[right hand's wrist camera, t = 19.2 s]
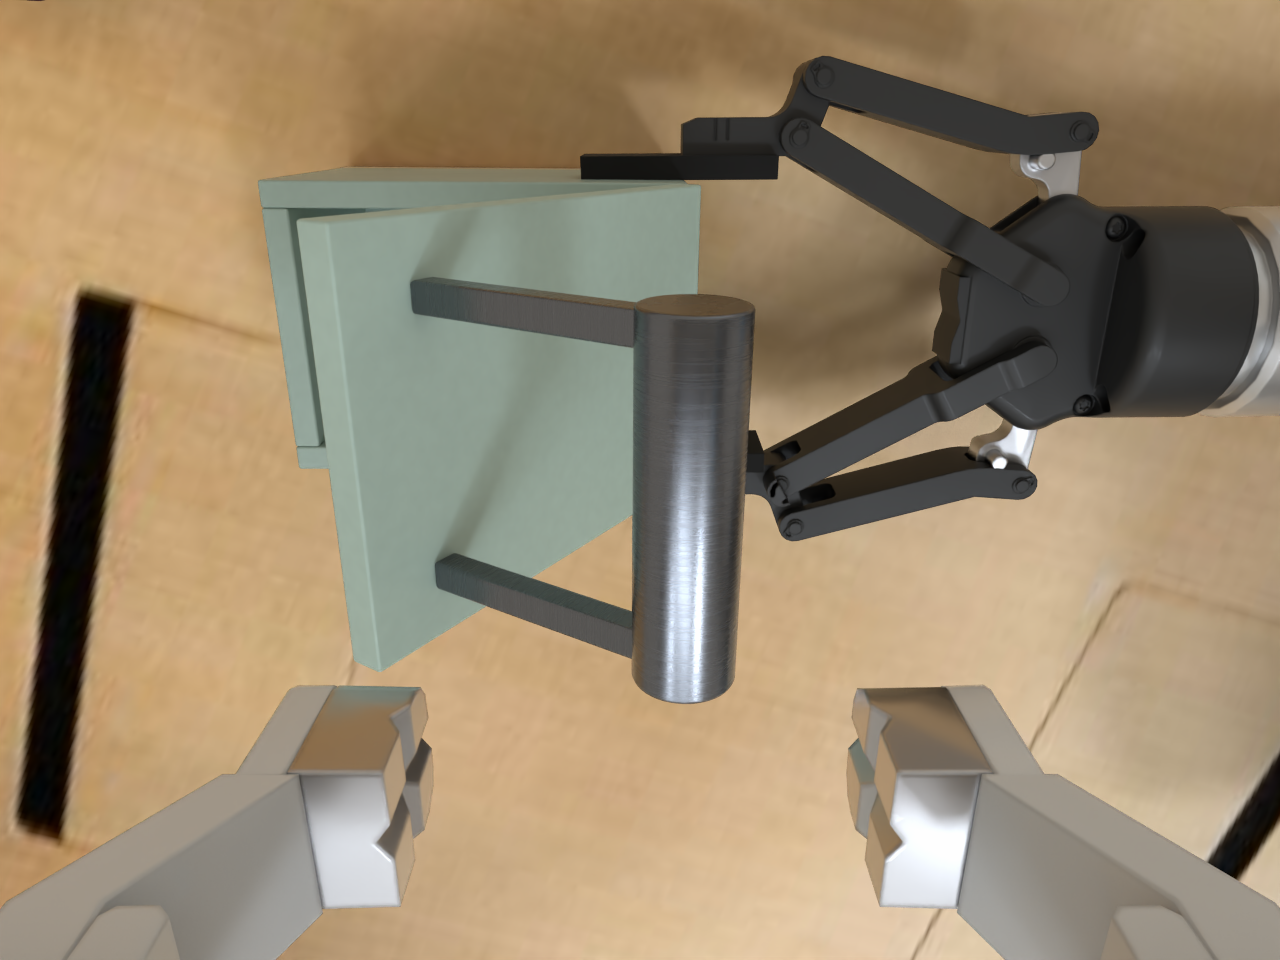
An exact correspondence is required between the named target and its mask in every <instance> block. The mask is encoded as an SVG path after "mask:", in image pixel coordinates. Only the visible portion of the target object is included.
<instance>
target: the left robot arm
mask: <svg viewBox="0 0 1280 960" xmlns="http://www.w3.org/2000/svg"><path fill="white" fill-rule="evenodd" d="M829 106H832V107H835V108H839V109H842V110H845V111H849V112H852V113H855V114H859V115H862V116H866V117H869V118H872V119H876V120H879V121H882V122H886V123H889V124H893V125H896V126H899V127H903V128H906V129H909V130H913V131H916V132H920V133H923V134H926V135H930V136H933V137H937V138H940V139H943V140H947V141H950V142H953V143H957V144H960V145H964V146H967V147H970V148H974V149H978V150H982V151H986V152H995V153H1006V154H1010V167H1011V170H1012V171H1013V172H1014V173H1015V174H1016V175H1018V176H1021V177H1026V178H1029V179H1031V180H1033V182H1034V183H1035V184H1036V186H1037V189H1038V196H1036V197H1035V198H1033V199H1031V200H1030V201H1029V202H1027V203H1026V204H1024V205H1023V206H1021V207H1020V208H1018V209H1017V210H1015V211H1014V212H1013V213H1011V214H1010V215H1008V216H1007V217H1005V218H1004V219H1002V220H1001V221H999V222H998V223H997V224H995V225H994V226H992V227H991V228H988V227H986V226H985V225H983V224H981V223H980V222H978V221H976V220H974V219H972V218H970V217H968V216H966V215H964V214H962V213H961V212H959V211H957V210H956V209H954V208H953V207H951V206H949V205H948V204H946V203H944V202H943V201H941V200H939V199H938V198H936V197H935V196H933V195H931V194H930V193H928V192H926V191H925V190H923V189H922V188H920V187H918V186H917V185H915V184H913V183H912V182H910V181H909V180H907V179H905V178H904V177H902V176H900V175H899V174H897V173H895V172H894V171H892V170H891V169H889V168H887V167H886V166H884V165H882V164H881V163H879V162H878V161H876V160H874V159H873V158H871V157H869V156H868V155H866V154H864V153H863V152H861V151H860V150H858V149H856V148H855V147H853V146H851V145H850V144H848V143H847V142H845V141H843V140H842V139H840V138H838V137H837V136H835V135H833V134H832V133H830V132H829V131H827V130H825V129H824V128H822V127H821V124H822V122H823V119H824V117H825V114H826V112H827V109H828V107H829ZM1098 132H1099V125H1098V121H1097V119H1096V118H1095V116H1093V115H1092V114H1090V113H1087V112H1062V113H1043V114H1033V115H1022V114H1019V113H1016V112H1012V111H1009V110H1006V109H1002V108H999V107H996V106H992V105H989V104H986V103H983V102H979V101H976V100H973V99H969V98H966V97H963V96H959V95H956V94H953V93H949V92H946V91H943V90H939V89H936V88H933V87H930V86H926V85H923V84H920V83H916V82H913V81H910V80H906V79H903V78H900V77H896V76H893V75H890V74H886V73H883V72H880V71H877V70H873V69H870V68H867V67H863V66H860V65H857V64H853V63H850V62H847V61H843V60H840V59H837V58H833V57H830V56H821V57H818V58H815V59H812V60H809V61H807V62H805V63H802V64H801V65H800V66H799V67H798V68H797V69H796V71H795V73H794V76H793V83H792V86H791V89H790V91H789V94H788V96H787V99H786V101H785V103H784V105H783V107H782V108H781V109H780V110H779V111H778V112H777V113H776V114H774V115H772V116H770V117H732V118H694V119H692V120H690V121H688V122H685V123H683V124H681V153H655V154H584V155H582V156H580V164H581V179H585V180H759V179H778V161H779V156H786V157H788V158H789V159H791V160H793V161H794V162H796V163H798V164H799V165H801V166H803V167H804V168H806V169H808V170H809V171H811V172H813V173H814V174H816V175H818V176H819V177H821V178H823V179H824V180H826V181H828V182H829V183H831V184H833V185H834V186H836V187H838V188H839V189H841V190H843V191H844V192H846V193H848V194H849V195H851V196H853V197H854V198H856V199H858V200H859V201H861V202H863V203H864V204H866V205H868V206H869V207H871V208H873V209H874V210H876V211H878V212H879V213H881V214H883V215H884V216H886V217H888V218H889V219H891V220H893V221H894V222H896V223H898V224H899V225H901V226H903V227H904V228H906V229H908V230H909V231H911V232H913V233H914V234H916V235H918V236H919V237H921V238H922V239H923V240H925V241H926V242H928V243H930V244H931V245H933V246H935V247H936V248H938V249H940V250H941V251H943V252H945V253H946V254H948V255H950V256H951V257H953V258H952V259H951V261H950V263H949V265H948V267H947V268H942V270H941V279H940V288H939V290H940V297H941V304H942V313H941V315H940V318H939V320H938V323H937V326H936V328H935V331H934V339H933V347H932V351H933V352H934V353H936V354H937V356H936V357H934V358H932V359H930V360H928V361H926V362H924V363H922V364H920V365H918V366H916V367H915V368H913V369H912V370H911V371H910V372H909V373H908V375H907V376H906V377H905V378H903V379H901V380H899V381H897V382H895V383H893V384H892V385H890V386H888V387H886V388H884V389H882V390H880V391H878V392H876V393H874V394H872V395H870V396H868V397H866V398H864V399H862V400H861V401H859V402H857V403H855V404H853V405H851V406H849V407H847V408H845V409H843V410H841V411H839V412H837V413H835V414H833V415H832V416H830V417H828V418H826V419H824V420H822V421H820V422H818V423H816V424H814V425H812V426H810V427H808V428H806V429H804V430H802V431H801V432H799V433H797V434H795V435H793V436H791V437H789V438H787V439H785V440H783V441H781V442H779V443H777V444H775V445H773V446H772V447H770V448H768V449H766V450H764V451H763V448H762V446H761V443H760V441H759V438H758V435H757V433H756V430H749V431H748V449H747V467H746V485H745V494H756V495H759V496H762V497H764V498H765V499H766V500H767V501H768V502H769V504H770V506H771V508H772V511H773V514H774V517H775V520H776V523H777V526H778V528H779V531H780V533H781V535H782V536H783V537H784V538H785V539H786V540H790V541H799V540H803V539H807V538H811V537H815V536H819V535H823V534H827V533H831V532H835V531H839V530H843V529H847V528H851V527H855V526H859V525H863V524H867V523H871V522H875V521H879V520H883V519H887V518H891V517H895V516H899V515H903V514H907V513H911V512H915V511H919V510H923V509H927V508H931V507H935V506H939V505H943V504H947V503H951V502H955V501H959V500H963V499H967V498H971V497H987V498H1001V499H1015V500H1019V499H1025V498H1027V497H1029V496H1031V495H1032V494H1033V493H1034V492H1035V489H1036V487H1037V479H1036V476H1035V475H1034V474H1033V473H1032V472H1031V471H1030V470H1028V465H1029V461H1030V458H1031V454H1032V450H1033V446H1034V442H1035V438H1036V434H1037V430H1038V429H1041V428H1044V427H1047V426H1048V425H1050V424H1052V423H1054V422H1057V421H1059V420H1062V419H1065V418H1069V417H1185V416H1190V415H1193V414H1196V413H1198V414H1200V415H1203V416H1210V417H1244V416H1280V206H1236V207H1227V208H1224V209H1222V210H1217V209H1215V208H1212V207H1208V206H1159V207H1098V206H1096V205H1093V204H1091V203H1090V202H1088V201H1087V200H1085V199H1084V198H1082V197H1080V196H1078V187H1079V176H1080V165H1081V154H1082V150H1085V149H1087V148H1088V147H1089V146H1091V145H1092V144H1093V143H1094V141H1095V140H1096V138H1097V135H1098ZM984 404H985V405H986V406H988V407H989V408H990V409H992V410H993V411H994V412H996V413H997V414H998V415H1000V416H1001V417H1002V418H1004V419H1003V422H1002V424H1001V426H1000V427H999V428H998V429H997V430H996V431H994V432H992V433H989V434H984V435H980V436H976V437H974V438H973V439H972V440H971V442H970V443H971V444H970V447H950V448H944V449H939V450H935V451H931V452H927V453H923V454H919V455H916V456H912V457H908V458H904V459H900V460H896V461H892V462H888V463H884V464H880V465H876V466H873V467H869V468H865V469H861V470H857V471H853V472H849V473H845V474H841V475H837V476H834V477H830V478H826V477H828V476H830V475H832V474H834V473H836V472H838V471H840V470H842V469H844V468H846V467H848V466H850V465H852V464H854V463H856V462H858V461H860V460H862V459H864V458H866V457H868V456H870V455H872V454H874V453H876V452H878V451H880V450H882V449H884V448H886V447H888V446H890V445H892V444H894V443H896V442H898V441H900V440H902V439H904V438H906V437H908V436H910V435H912V434H914V433H916V432H918V431H920V430H922V429H924V428H926V427H928V426H930V425H932V424H934V423H936V422H943V421H951V420H954V419H956V418H959V417H961V416H963V415H965V414H967V413H969V412H971V411H973V410H975V409H977V408H978V407H980V406H982V405H984ZM824 478H826V479H824Z"/></svg>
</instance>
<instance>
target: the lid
mask: <svg viewBox="0 0 1280 960" xmlns="http://www.w3.org/2000/svg"><path fill="white" fill-rule="evenodd" d="M700 199H701V186H700V185H694V184H669V185H659V186H648V187H637V188H626V189H615V190H605V191H594V192H583V193H572V194H561V195H551V196H540V197H529V198H518V199H507V200H497V201H486V202H475V203H464V204H453V205H443V206H432V207H421V208H410V209H399V210H389V211H378V212H367V213H356V214H345V215H335V216H324V217H313V218H302V219H299V220H297V230H298V238H299V246H300V253H301V261H302V268H303V276H304V284H305V291H306V299H307V307H308V314H309V322H310V329H311V337H312V345H313V352H314V360H315V367H316V375H317V383H318V390H319V398H320V406H321V413H322V421H323V428H324V436H325V444H326V451H327V459H328V467H329V474H330V482H331V489H332V497H333V505H334V512H335V520H336V527H337V535H338V543H339V550H340V558H341V566H342V573H343V581H344V588H345V596H346V604H347V611H348V619H349V627H350V634H351V642H352V649H353V657H354V660H355V662H358V663H360V664H362V665H364V666H367V667H369V668H371V669H373V670H375V671H378V672H382V671H383V670H385V669H387V668H388V667H390V666H391V665H393V664H395V663H396V662H398V661H399V660H401V659H403V658H404V657H406V656H407V655H409V654H411V653H412V652H414V651H415V650H417V649H419V648H420V647H422V646H423V645H425V644H427V643H428V642H430V641H431V640H433V639H435V638H436V637H438V636H439V635H441V634H443V633H444V632H446V631H447V630H449V629H451V628H452V627H454V626H455V625H457V624H459V623H460V622H462V621H463V620H465V619H467V618H468V617H470V616H471V615H473V614H475V613H476V612H478V611H479V610H481V609H483V608H484V607H486V606H488V607H490V608H493V609H496V610H499V611H501V612H504V613H507V614H510V615H512V616H515V617H518V618H521V619H523V620H526V621H529V622H532V623H534V624H537V625H540V626H543V627H545V628H548V629H551V630H554V631H556V632H559V633H562V634H565V635H567V636H570V637H573V638H576V639H578V640H581V641H584V642H587V643H589V644H592V645H595V646H598V647H600V648H603V649H606V650H609V651H611V652H614V653H617V654H620V655H622V656H625V657H628V658H631V659H632V676H633V679H634V681H635V683H636V684H637V686H638V687H639V688H640V689H641V690H642V691H644V692H645V693H646V694H648V695H650V696H652V697H654V698H656V699H659V700H662V701H666V702H671V703H678V704H694V703H701V702H706V701H709V700H712V699H715V698H717V697H719V696H721V695H722V694H724V693H725V692H726V691H727V690H728V689H729V688H730V687H731V685H732V683H733V681H734V678H735V664H736V646H737V628H738V610H739V592H740V574H741V556H742V538H743V520H744V503H745V485H746V467H747V449H748V431H749V413H750V395H751V377H752V359H753V341H754V323H755V308H754V306H753V304H751V303H749V302H747V301H744V300H741V299H737V298H732V297H726V296H718V295H704V294H698V263H699V231H700ZM631 515H633V519H632V611H629V610H626V609H623V608H620V607H617V606H614V605H611V604H608V603H605V602H602V601H599V600H596V599H593V598H590V597H587V596H584V595H581V594H578V593H575V592H572V591H569V590H566V589H563V588H560V587H557V586H554V585H551V584H548V583H545V582H542V581H538V580H535V579H532V577H534V576H535V575H537V574H539V573H540V572H542V571H543V570H545V569H547V568H548V567H550V566H551V565H553V564H555V563H556V562H558V561H559V560H561V559H562V558H564V557H566V556H567V555H569V554H570V553H572V552H574V551H575V550H577V549H578V548H580V547H582V546H583V545H585V544H586V543H588V542H590V541H591V540H593V539H594V538H596V537H598V536H599V535H601V534H602V533H604V532H606V531H607V530H609V529H610V528H612V527H614V526H615V525H617V524H618V523H620V522H622V521H623V520H625V519H626V518H628V517H630V516H631Z"/></svg>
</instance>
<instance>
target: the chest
mask: <svg viewBox="0 0 1280 960" xmlns="http://www.w3.org/2000/svg"><path fill="white" fill-rule="evenodd" d="M669 184H687V183H686V182H685V181H684V180H585V179H581V168H455V167H341V168H338V169H331V170H324V171H317V172H311V173H304V174H297V175H290V176H283V177H276V178H270V179H263V180H259V181H258V186H259V193H260V200H261V206H262V207H263V209H262V213H263V220H264V227H265V234H266V241H267V248H268V255H269V261H270V268H271V275H272V282H273V289H274V296H275V303H276V310H277V317H278V324H279V331H280V338H281V345H282V351H283V358H284V365H285V372H286V379H287V386H288V393H289V400H290V407H291V414H292V421H293V428H294V435H295V442H296V445H297V455H298V462H299V467H300V468H301V469H329V467H328V459H327V451H326V444H325V436H324V428H323V421H322V413H321V406H320V398H319V390H318V383H317V375H316V367H315V360H314V352H313V345H312V337H311V329H310V322H309V314H308V307H307V299H306V291H305V284H304V276H303V268H302V261H301V253H300V246H299V238H298V230H297V220H299V219H302V218H313V217H324V216H335V215H345V214H356V213H367V212H378V211H389V210H399V209H410V208H421V207H432V206H443V205H453V204H464V203H475V202H486V201H497V200H507V199H518V198H529V197H540V196H551V195H561V194H572V193H583V192H594V191H605V190H615V189H626V188H637V187H648V186H659V185H669Z"/></svg>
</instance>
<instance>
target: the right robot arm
mask: <svg viewBox="0 0 1280 960" xmlns="http://www.w3.org/2000/svg"><path fill="white" fill-rule="evenodd" d="M427 720H428V712H427V704H426V697H425V693H424V692H423V690H422V689H421V687H381V686H338V687H337V686H334V685H315V686H296V687H293V688H291V689H290V690H289V691H288V692H287V693H286V695H285V696H284V698H283V699H282V701H281V703H280V704H279V706H278V707H277V709H276V711H275V712H274V714H273V715H272V717H271V718H270V720H269V722H268V723H267V725H266V726H265V728H264V730H263V731H262V733H261V734H260V736H259V737H258V739H257V741H256V742H255V744H254V745H253V747H252V749H251V750H250V752H249V753H248V755H247V756H246V758H245V760H244V761H243V763H242V764H241V766H240V768H239V769H238V771H237V772H236V774H222V775H220V776H219V777H217V778H215V779H213V780H212V781H210V782H208V783H207V784H205V785H203V786H202V787H200V788H198V789H197V790H195V791H193V792H191V793H190V794H188V795H186V796H185V797H183V798H181V799H180V800H178V801H176V802H174V803H173V804H171V805H169V806H168V807H166V808H164V809H163V810H161V811H159V812H157V813H156V814H154V815H152V816H151V817H149V818H147V819H146V820H144V821H142V822H140V823H139V824H137V825H135V826H134V827H132V828H130V829H129V830H127V831H125V832H124V833H122V834H120V835H118V836H117V837H115V838H113V839H112V840H110V841H108V842H107V843H105V844H103V845H101V846H100V847H98V848H96V849H95V850H93V851H91V852H90V853H88V854H86V855H84V856H83V857H81V858H79V859H78V860H76V861H74V862H73V863H71V864H69V865H68V866H66V867H64V868H62V869H61V870H59V871H57V872H56V873H54V874H52V875H51V876H49V877H47V878H45V879H44V880H42V881H40V882H39V883H37V884H35V885H34V886H32V887H30V888H28V889H27V890H25V891H23V892H22V893H20V894H18V895H17V896H15V897H13V898H12V899H10V900H8V901H6V903H5V904H4V905H3V906H2V907H1V909H0V960H276V959H277V958H278V957H279V956H280V955H281V954H282V953H283V952H284V951H285V950H286V949H287V948H288V947H289V946H290V945H291V944H292V943H293V942H294V941H295V940H296V939H297V938H298V937H299V936H300V935H301V934H302V933H303V932H304V931H305V930H306V929H307V928H308V927H309V926H310V925H311V924H312V923H313V922H314V921H315V920H316V919H317V918H318V917H319V916H321V915H322V914H323V911H322V909H335V908H370V907H400V906H401V903H402V900H403V897H404V894H405V890H406V887H407V884H408V881H409V878H410V874H411V871H412V868H413V865H414V862H415V853H414V844H413V839H414V838H415V837H416V836H417V835H419V834H420V833H421V832H422V831H423V830H424V829H425V826H426V822H427V819H428V815H429V812H430V805H431V798H432V791H433V758H432V748H431V747H430V746H429V745H428V744H427V743H426V742H425V741H424V740H423V739H422V738H421V737H422V734H423V731H424V729H425V726H426V723H427ZM852 720H853V723H854V726H855V729H856V731H857V734H858V737H859V738H858V739H857V740H856V741H855V742H854V743H853V744H852V745H851V746H850V747H849V748H848V760H847V792H848V800H849V806H850V811H851V815H852V819H853V822H854V826H855V829H856V830H857V831H858V832H859V833H860V834H861V835H863V836H864V837H865V838H866V839H867V844H866V853H865V862H866V865H867V868H868V871H869V874H870V878H871V881H872V884H873V887H874V890H875V893H876V896H877V900H878V903H879V906H880V907H909V908H944V909H958V910H957V913H958V914H959V915H960V916H961V917H962V918H963V919H964V920H965V921H966V922H967V923H968V924H969V925H970V926H971V927H972V928H973V929H974V930H975V931H976V932H977V933H978V934H979V935H980V936H981V937H982V938H983V939H984V940H985V941H986V942H987V943H988V944H989V945H990V946H991V947H992V948H994V949H995V950H996V951H997V952H998V953H999V954H1000V955H1001V956H1002V957H1003V958H1004V959H1005V960H1280V908H1279V907H1278V906H1277V904H1276V903H1275V902H1273V901H1271V900H1269V899H1268V898H1266V897H1264V896H1263V895H1261V894H1259V893H1258V892H1256V891H1254V890H1253V889H1251V888H1249V887H1248V886H1246V885H1244V884H1242V883H1241V882H1239V881H1237V880H1236V879H1234V878H1232V877H1231V876H1229V875H1227V874H1226V873H1224V872H1222V871H1220V870H1219V869H1217V868H1215V867H1214V866H1212V865H1210V864H1209V863H1207V862H1205V861H1204V860H1202V859H1200V858H1198V857H1197V856H1195V855H1193V854H1192V853H1190V852H1188V851H1187V850H1185V849H1183V848H1182V847H1180V846H1178V845H1176V844H1175V843H1173V842H1171V841H1170V840H1168V839H1166V838H1165V837H1163V836H1161V835H1160V834H1158V833H1156V832H1154V831H1153V830H1151V829H1149V828H1148V827H1146V826H1144V825H1143V824H1141V823H1139V822H1138V821H1136V820H1134V819H1132V818H1131V817H1129V816H1127V815H1126V814H1124V813H1122V812H1121V811H1119V810H1117V809H1116V808H1114V807H1112V806H1110V805H1109V804H1107V803H1105V802H1104V801H1102V800H1100V799H1099V798H1097V797H1095V796H1094V795H1092V794H1090V793H1088V792H1087V791H1085V790H1083V789H1082V788H1080V787H1078V786H1077V785H1075V784H1073V783H1072V782H1070V781H1068V780H1066V779H1065V778H1063V777H1061V776H1060V775H1058V774H1044V772H1043V771H1042V769H1041V768H1040V766H1039V765H1038V763H1037V761H1036V760H1035V758H1034V757H1033V755H1032V754H1031V752H1030V750H1029V749H1028V747H1027V746H1026V744H1025V743H1024V741H1023V740H1022V738H1021V736H1020V735H1019V733H1018V732H1017V730H1016V729H1015V727H1014V725H1013V724H1012V722H1011V721H1010V719H1009V718H1008V716H1007V714H1006V713H1005V711H1004V710H1003V708H1002V707H1001V705H1000V703H999V702H998V700H997V699H996V697H995V696H994V694H993V693H992V691H991V689H989V688H988V687H986V686H984V685H965V686H941V687H920V688H857V691H856V694H855V697H854V702H853V711H852Z"/></svg>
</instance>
